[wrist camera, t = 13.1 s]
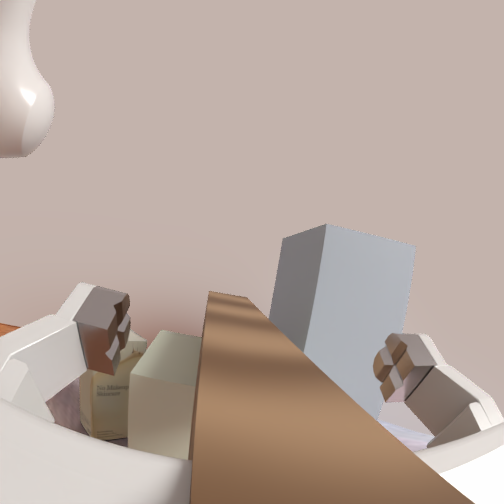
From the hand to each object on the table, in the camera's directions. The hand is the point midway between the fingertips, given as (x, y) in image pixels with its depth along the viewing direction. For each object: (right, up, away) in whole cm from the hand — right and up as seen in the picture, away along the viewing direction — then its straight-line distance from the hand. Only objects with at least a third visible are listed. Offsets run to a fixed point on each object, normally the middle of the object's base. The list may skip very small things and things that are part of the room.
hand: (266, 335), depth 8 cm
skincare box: (-17, -18, +18) cm, 30 cm away
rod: (-2, -4, +6) cm, 7 cm away
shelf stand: (+5, -22, +23) cm, 32 cm away
